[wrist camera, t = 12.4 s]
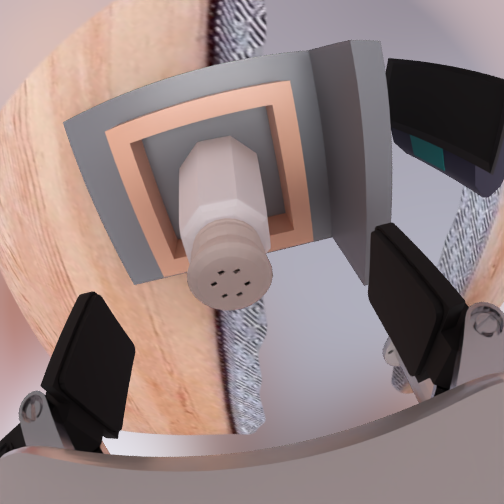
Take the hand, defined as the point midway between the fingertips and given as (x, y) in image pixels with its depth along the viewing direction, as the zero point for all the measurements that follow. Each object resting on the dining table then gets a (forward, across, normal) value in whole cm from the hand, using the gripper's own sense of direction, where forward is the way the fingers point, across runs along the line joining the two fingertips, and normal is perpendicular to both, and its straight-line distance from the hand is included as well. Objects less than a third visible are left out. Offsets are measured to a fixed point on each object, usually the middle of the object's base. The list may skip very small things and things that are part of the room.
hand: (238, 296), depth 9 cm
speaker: (+13, -15, -3) cm, 20 cm away
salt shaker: (+11, 0, -1) cm, 11 cm away
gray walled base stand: (+12, +1, -1) cm, 12 cm away
